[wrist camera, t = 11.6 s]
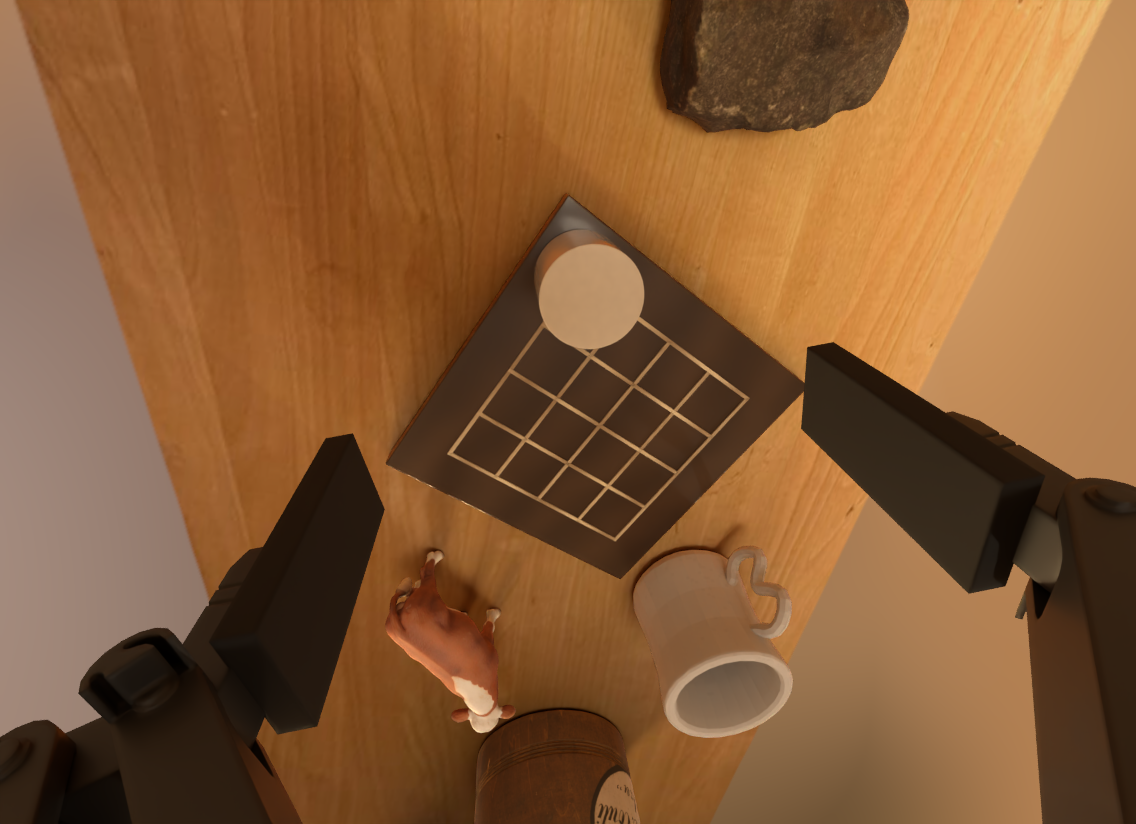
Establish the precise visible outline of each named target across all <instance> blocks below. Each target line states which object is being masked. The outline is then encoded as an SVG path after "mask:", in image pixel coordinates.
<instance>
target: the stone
mask: <svg viewBox="0 0 1136 824" xmlns="http://www.w3.org/2000/svg"><path fill="white" fill-rule="evenodd" d="M908 20H909V10H908V7H907V5H906V2H905V0H671V10H670V16H669V22H668V26H667V30H666V34H665V37H664V43H663V49H662V54H661V59H660V74H661V80H662V86H663V89H664V93H665V96H666V100H667V109H669V110H671V111H672V112H673V113H676V114H678V115H682V116H685V117H687V118H690V119H692V120H693V121H695V122H696V123H698V124H699V125H700V126H701V127H702V128H703V129H704V130H705V131H706V132H719V131H724V130H731V129H743V128H744V129H746V130H754V131H760V132H772V131H777V130H785V129H791V128H792V129H794V130H796V131H802V130H804V129H807V128H816V127H817V126H819V125H821V124H823V123H825V122H827V121H828V120H829V119H830V118H831V117H832V116H833V115H834V114H835V113H837V112H840V111H844V110H853V109H856V108H858V107H861V106H863V105H865V104H866V103H868V102H869V101H870V100H871V98H872V97H873V96H874V94H875V93H876V91H877V90H878V89H879V87H880V86H881V84H882V83H883V81H884V79H885V77H886V74H887V71H888V69H889V66H890V64H891V62H892V60H893V58H894V56H895V54H896V52H897V50H898V48H899V47H900V44H901V42H902V40H903V37H904V35H905V32H906V30H907V25H908Z"/></svg>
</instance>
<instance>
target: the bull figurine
mask: <svg viewBox="0 0 1136 824" xmlns="http://www.w3.org/2000/svg"><path fill="white" fill-rule="evenodd" d="M443 557H444V554H443V553H442V552H441V551H435V552H430V553H429V554H428V555H427V561H426V563H425V565H424V566H423V567H422V568H421V569H420V576H421V579H420V580H419V581H416V583H415V585H416V586H415V587H413V588H412V580H411V578H410V577H407V578H404V579H403V580H402V582H401V583H400V585H399V586H398V588H397V590H396V594H395V595H394V596H393V597H392V599H391V602H390V613H389V615H388V617H387V620H386V624H385V627H386V631H387V633H388V635H389V636H390V637H391V638H392V639H393V640H394V641H395V642H396V643H397V644H398V645H400V646H401V647H402V648H403V649H404V650H405V651H406V653H407V654H408V655H409V656H410V657H411V658H413V659H414V660H416V661H418V662H420V663H421V664H423V665H424V666H425V667H426V668H427V669H428V670H429V671H430V672H431V673H432V674H434V675H435V676H436V677H438V678H439V679H440V680H441V681H442V682H443V683H444V685H445V686H446V687H447V688H448V689H449V690H450V691H451V692H452V693H454V694H456V695H458V696H460V697H461V698H463V700H464V701H465V703H466V705H467V706H468V707H469V708H468V709H458V710H455V711H454V712H453V713H452V715H451V718H452V719H453V720H454V721H456V722H463V721H465V720H470V723H471V725H472V728H473V729H474V730H475V731H476V732H480V733H484V732H489V731H490V730H492V729H493V728H494V727H495V725H496V724H497V723H498V718H503V719H508V718H511V717H512V716H514V714H515V712H516V710H515V708H514V706H512V705H505V706H502V707H499V706H498V705H497V699H498V676H497V668H498V662H499V660H498V654H497V651H496V649H495V648H494V646H493V644H494V638H493V632H494V629H495V626H494V622H495V620H496V619H497V618H498V617H499V616H500V615H501V611H500V610H499V609H498V608H495V609H491V610H489V609H488V610H487V621H486V622H485V623H484V624H483V630H482V632H479V630H478V628H477V626H476V625H475V623H474V622H473V621H472V619H471V618H470V617H468V614H467V613H466V612H460V611H458V610H456V609H453V608H448V607H447V606H446V605H445V604H444V602H443V601H442V599H441V598H440V596H439V594H438V591H437V588H436V580H435V577H434V566H435V564H436V563H437V562H439V561H440V560H441V559H442V558H443ZM403 596H407V599H406V601H405V602H400V603H398V604H397V605H396V603H397V600H398V599H399V598H401V597H403Z"/></svg>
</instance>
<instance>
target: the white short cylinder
mask: <svg viewBox="0 0 1136 824" xmlns="http://www.w3.org/2000/svg"><path fill="white" fill-rule="evenodd" d="M534 284H535V289H536V294H537V299H538V303H539V308H540V312H541V315H542V318H543V321H544V322H545V324H546V326H547V328H548V329H549V330H550V332H551V333H552V334H553V335H554V336H555V337H557V338H558V339H559V340H560V341H562V342H564V343H566V344H568V345H570V346H573V347H576V348H581V349H597V348H602V347H605V346H608V345H611V344H613V343H615V342H617V341H618V340H620V339H621V338H623V337H624V336H625V335H626V334H627V333H628V332H629V331H630V330H631V329H632V328H633V326H634V325H635V323H636V322H637V320H638V318H639V316H640V313H641V311H642V307H643V303H644V285H643V280H642V277H641V274H640V272H639V270H638V268H637V267H636V265H635V264H634V262H633V261H632V260H631V259H630V258H629V257H628V256H627V255H626V254H625V253H624V252H623V251H622V250H621V249H619V248H618V247H617V246H616V245H615V244H614V243H613V242H612V241H611V240H610V239H609V238H607V237H606V236H604V235H602V234H600V233H598V232H595V231H592V230H585V229H578V230H572V231H568V232H565V233H562V234H560V235H559V236H557V237H555V238H554V239H553V240H551V241H550V242H549V243H548V244H547V245H546V246H545V248H544V249H543V250H542V252H541V254H540V255H539V258H538V260H537V263H536V266H535V271H534Z"/></svg>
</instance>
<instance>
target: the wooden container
mask: <svg viewBox="0 0 1136 824" xmlns="http://www.w3.org/2000/svg"><path fill="white" fill-rule="evenodd" d="M475 824H640V819H639V815H638V810H637V805H636V801H635V796H634V791H633V786H632V782H631V778H630V773H629V768H628V763H627V758H626V754H625V749H624V744H623V740H622V737H621V735H620V733H619V732H618V730H617V729H616V728H615V726H613V725H612V724H611V723H610V722H608V721H607V720H605V719H603V718H602V717H599V716H597V715H594V714H592V713H587V712H583V711H575V710H553V711H545V712H539V713H534V714H530V715H527V716H524V717H521V718H518V719H516V720H514V721H512V722H510V723H508V724H506V725H504V726H502V727H501V728H500V729H498V730H497V731H495V732H494V733H493V734H492V735H491V736H489V737H488V739H487V740H486V741H485V742H484V743H483V745H482V747H481V749H480V751H479V754H478V759H477V775H476V804H475Z"/></svg>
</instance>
